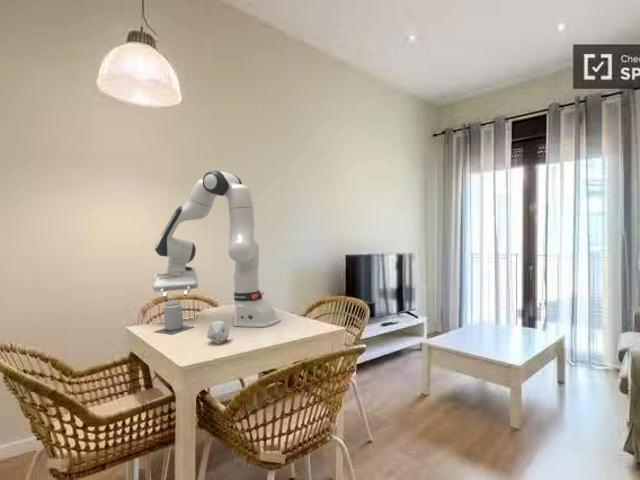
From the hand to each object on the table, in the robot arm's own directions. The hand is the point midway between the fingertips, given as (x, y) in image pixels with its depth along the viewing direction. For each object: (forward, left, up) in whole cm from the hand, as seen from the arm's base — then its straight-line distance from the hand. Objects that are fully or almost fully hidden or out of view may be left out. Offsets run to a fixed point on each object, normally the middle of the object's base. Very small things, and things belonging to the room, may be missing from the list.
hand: (175, 296), depth 168 cm
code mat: (-6, +7, -13) cm, 16 cm away
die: (-39, +14, -14) cm, 44 cm away
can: (-6, +7, -13) cm, 16 cm away
